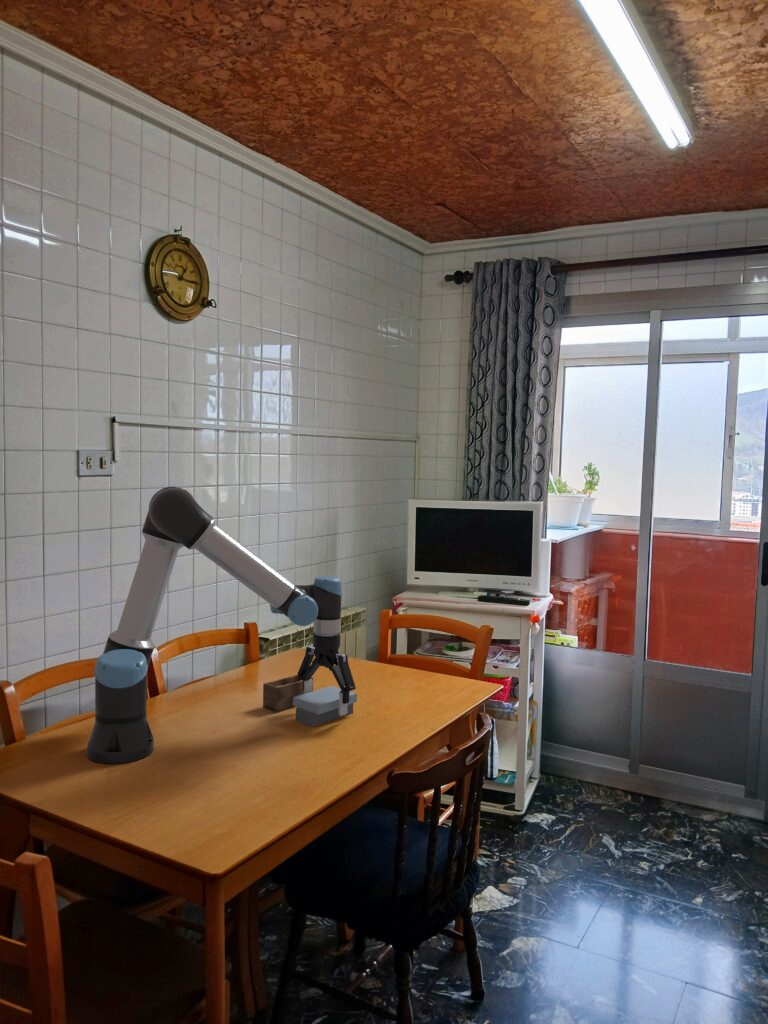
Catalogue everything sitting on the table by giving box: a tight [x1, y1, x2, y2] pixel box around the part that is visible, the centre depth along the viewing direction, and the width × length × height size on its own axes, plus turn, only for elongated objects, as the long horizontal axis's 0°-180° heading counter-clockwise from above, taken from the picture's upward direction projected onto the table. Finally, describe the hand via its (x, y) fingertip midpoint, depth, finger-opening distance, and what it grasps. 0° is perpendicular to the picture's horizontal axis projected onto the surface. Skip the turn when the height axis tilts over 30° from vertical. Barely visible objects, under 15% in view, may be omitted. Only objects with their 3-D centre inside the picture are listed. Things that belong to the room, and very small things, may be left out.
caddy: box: [262, 674, 314, 713], centre depth 220 cm, size 14×6×7 cm, turn 139°
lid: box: [293, 685, 358, 714], centre depth 210 cm, size 15×10×2 cm, turn 139°
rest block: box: [295, 703, 354, 728], centre depth 210 cm, size 16×6×4 cm, turn 139°
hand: (325, 708), depth 210 cm, fingers open, 13 cm apart
